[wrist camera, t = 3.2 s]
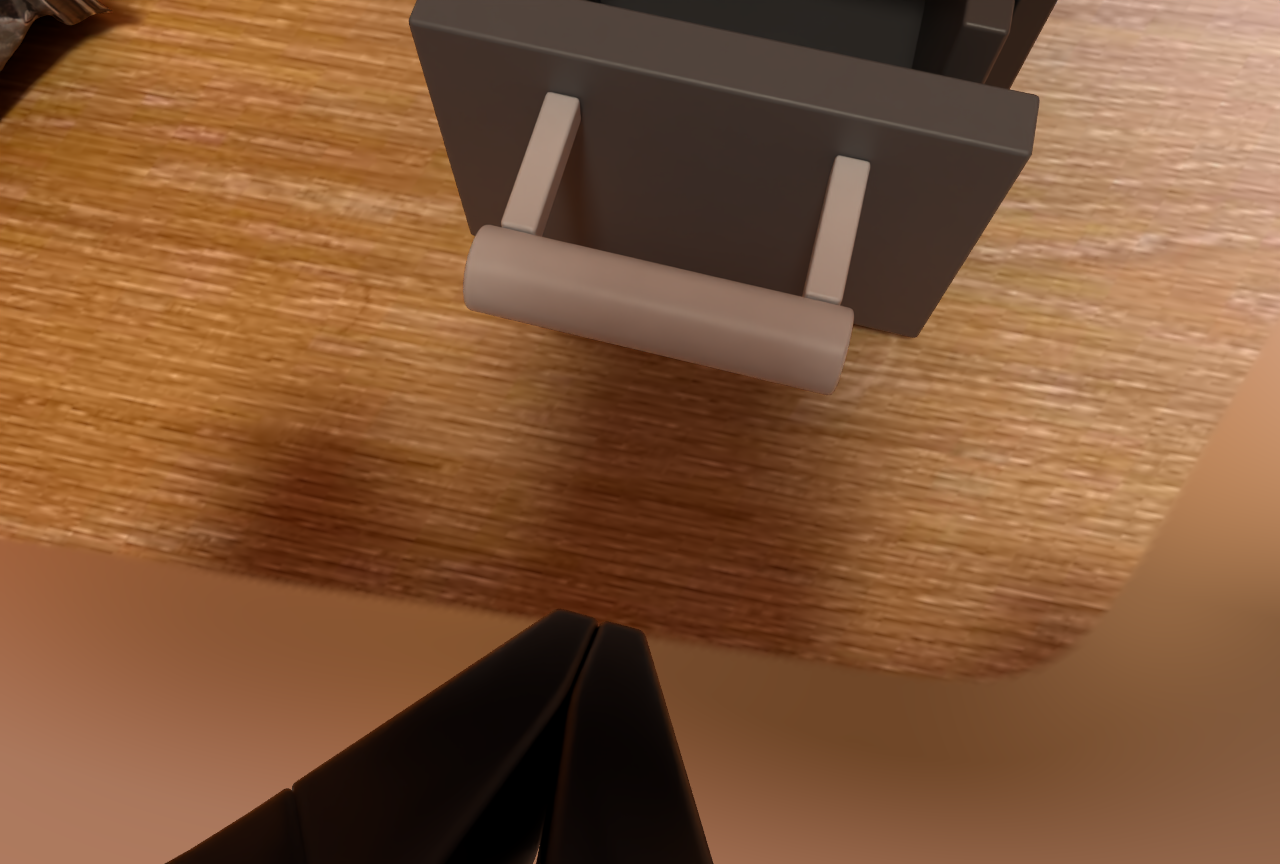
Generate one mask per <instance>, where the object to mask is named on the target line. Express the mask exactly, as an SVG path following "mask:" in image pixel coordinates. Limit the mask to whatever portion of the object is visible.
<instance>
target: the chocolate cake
mask: <svg viewBox="0 0 1280 864" xmlns="http://www.w3.org/2000/svg"><path fill="white" fill-rule="evenodd" d="M105 12H106V13H109V12H111V13H113V12H112V10H110V9H108V7H104V5H103V4H101V3H100V2H99V1H97V0H0V72H1V70H2V69H3V67H4V65H5V64H6V62H7V61H8V60H9V59H10V57H11V56H12V55H13V53H14V52H15V50H16V49H17V48H18V47H19V46H20V44H21V42H22V40H23V38H24V37H25V35H26V33H27V31H28V29H29V27H30V26H31V24H32V23H33V21H34V20H35V19H36V18H39V17H42V16H45V15H51V16H53V17H55V18H56V19H57V20H58V21H60V22H63V23H65V24H67V25H74V24H77V23H79V22H81V21H83V20H85V19H86V18H88V17H89V16H91V15H95V14H98V13H105Z"/></svg>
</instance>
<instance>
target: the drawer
mask: <svg viewBox="0 0 1280 864" xmlns="http://www.w3.org/2000/svg"><path fill="white" fill-rule="evenodd" d="M1014 3H1015V0H417V1H416V4H415V6H414V8H413V11H412V13H411V15H410V18H409V25H410V29H411V32H412V36H413V39H414V42H415V46H416V49H417V52H418V56H419V59H420V63H421V66H422V69H423V73H424V76H425V80H426V83H427V86H428V90H429V93H430V96H431V100H432V103H433V107H434V110H435V113H436V117H437V120H438V124H439V127H440V130H441V134H442V137H443V140H444V144H445V147H446V151H447V154H448V157H449V161H450V164H451V168H452V171H453V174H454V178H455V181H456V184H457V188H458V191H459V195H460V198H461V201H462V205H463V208H464V212H465V215H466V218H467V222H468V225H469V228H470V232H471V234H472V235H474V236H475V238H474V240H473V243H472V245H471V248H470V251H469V254H468V258H467V262H466V267H465V273H464V282H463V293H464V301H465V304H466V306H467V308H469V309H470V310H472V311H477V312H481V313H485V314H489V315H493V316H498V317H502V318H506V319H510V320H514V321H519V322H523V323H527V324H531V325H535V326H539V327H544V328H548V329H552V330H556V331H560V332H565V333H569V334H573V335H577V336H581V337H586V338H590V339H594V340H598V341H602V342H607V343H611V344H615V345H619V346H623V347H628V348H632V349H636V350H640V351H644V352H648V353H653V354H657V355H661V356H665V357H669V358H674V359H678V360H682V361H686V362H690V363H695V364H699V365H703V366H707V367H711V368H716V369H720V370H724V371H728V372H732V373H737V374H741V375H745V376H749V377H753V378H757V379H762V380H766V381H770V382H774V383H778V384H783V385H787V386H791V387H795V388H799V389H804V390H808V391H812V392H816V393H820V394H825V395H831V394H832V393H833V392H834V390H835V389H836V386H837V384H838V381H839V378H840V376H841V372H842V369H843V366H844V362H845V359H846V355H847V351H848V347H849V343H850V338H851V334H852V328H853V324H856V325H861V326H865V327H869V328H874V329H878V330H882V331H887V332H891V333H895V334H900V335H904V336H908V337H912V338H915V337H917V336H918V335H919V333H920V331H921V330H922V328H923V327H924V325H925V323H926V322H927V320H928V319H929V317H930V316H931V314H932V312H933V311H934V309H935V308H936V306H937V304H938V303H939V301H940V300H941V298H942V296H943V295H944V293H945V292H946V290H947V288H948V287H949V285H950V284H951V282H952V281H953V279H954V277H955V276H956V274H957V273H958V271H959V269H960V268H961V266H962V265H963V263H964V261H965V260H966V258H967V257H968V255H969V253H970V252H971V250H972V249H973V247H974V246H975V244H976V242H977V241H978V239H979V238H980V236H981V234H982V233H983V231H984V230H985V228H986V226H987V225H988V223H989V222H990V220H991V218H992V217H993V215H994V214H995V212H996V211H997V209H998V207H999V206H1000V204H1001V203H1002V201H1003V199H1004V198H1005V196H1006V195H1007V193H1008V191H1009V190H1010V188H1011V187H1012V185H1013V183H1014V182H1015V180H1016V179H1017V177H1018V176H1019V174H1020V172H1021V171H1022V169H1023V168H1024V166H1025V164H1026V163H1027V161H1028V160H1029V158H1030V156H1031V155H1032V149H1033V142H1034V136H1035V129H1036V122H1037V115H1038V108H1039V97H1038V96H1036V95H1033V94H1029V93H1024V92H1019V91H1014V90H1010V89H1005V88H1000V87H995V86H991V85H986V84H984V83H985V81H986V79H987V77H988V75H989V73H990V71H991V69H992V67H993V65H994V63H995V61H996V59H997V57H998V55H999V53H1000V51H1001V49H1002V47H1003V45H1004V43H1005V41H1006V39H1007V37H1008V35H1009V33H1010V27H1011V21H1012V15H1013V9H1014Z"/></svg>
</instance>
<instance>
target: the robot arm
mask: <svg viewBox="0 0 1280 864" xmlns="http://www.w3.org/2000/svg"><path fill="white" fill-rule="evenodd" d="M539 845H540V846H539ZM538 848H539V852H538V857H537V862H536V864H713V861H712V857H711V854H710V851H709V848H708V844H707V841H706V837H705V834H704V831H703V827H702V824H701V821H700V817H699V814H698V810H697V807H696V804H695V800H694V797H693V794H692V790H691V787H690V784H689V780H688V777H687V774H686V770H685V767H684V764H683V760H682V757H681V754H680V750H679V747H678V743H677V740H676V736H675V733H674V730H673V726H672V723H671V720H670V716H669V713H668V709H667V706H666V703H665V699H664V696H663V693H662V689H661V686H660V683H659V680H658V676H657V673H656V669H655V666H654V662H653V659H652V656H651V652H650V649H649V646H648V642H647V639H646V636H645V634H644V633H643V632H642V631H641V630H639V629H636V628H632V627H628V626H625V625H621V624H617V623H613V622H609V621H605V622H602V623H601V624H600V625H599V626H598V621H597V620H596V619H595V618H593V617H590V616H587V615H583V614H579V613H575V612H571V611H568V610H564V609H557V610H554V611H552V612H550V613H549V614H547V615H546V616H544V617H543V618H541V619H540V620H538V621H537V622H535V623H534V624H532V625H531V626H529V627H528V628H526V629H525V630H523V631H522V632H520V633H519V634H517V635H516V636H514V637H513V638H511V639H510V640H508V641H507V642H505V643H504V644H503V645H501V646H499V647H498V648H496V649H495V650H493V651H492V652H490V653H489V654H487V655H486V656H484V657H483V658H481V659H480V660H478V661H477V662H475V663H474V664H472V665H471V666H469V667H468V668H466V669H465V670H463V671H462V672H460V673H459V674H457V675H456V676H454V677H453V678H451V679H450V680H448V681H447V682H445V683H444V684H442V685H441V686H439V687H438V688H436V689H435V690H433V691H432V692H430V693H429V694H427V695H426V696H424V697H423V698H421V699H420V700H418V701H417V702H415V703H414V704H412V705H411V706H409V707H408V708H406V709H405V710H403V711H402V712H400V713H399V714H397V715H396V716H394V717H393V718H391V719H390V720H388V721H387V722H385V723H384V724H382V725H381V726H379V727H378V728H376V729H375V730H373V731H372V732H370V733H369V734H367V735H366V736H364V737H363V738H361V739H360V740H358V741H357V742H355V743H354V744H352V745H351V746H349V747H348V748H346V749H345V750H343V751H342V752H340V753H339V754H337V755H336V756H334V757H333V758H331V759H329V760H328V761H326V762H325V763H323V764H322V765H320V766H319V767H317V768H316V769H314V770H313V771H311V772H310V773H308V774H307V775H306V776H304V777H302V778H301V779H300V780H298V781H297V782H295V783H294V784H293V786H292V790H291V789H284V790H282V791H281V792H279V793H278V794H276V795H275V796H274V797H272V798H270V799H269V800H267V801H266V802H264V803H263V804H261V805H260V806H258V807H257V808H255V809H254V810H252V811H251V812H249V813H248V814H246V815H245V816H243V817H241V818H240V819H238V820H236V821H235V822H233V823H232V824H230V825H228V826H227V827H225V828H224V829H222V830H221V831H219V832H217V833H216V834H214V835H212V836H211V837H209V838H208V839H206V840H205V841H203V842H201V843H200V844H198V845H197V846H195V847H193V848H192V849H190V850H188V851H187V852H185V853H183V854H181V855H179V856H178V857H176V858H174V859H172V860H171V861H169V862H167V863H165V864H533V862H534V860H535V857H536V854H537V851H538Z"/></svg>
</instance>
